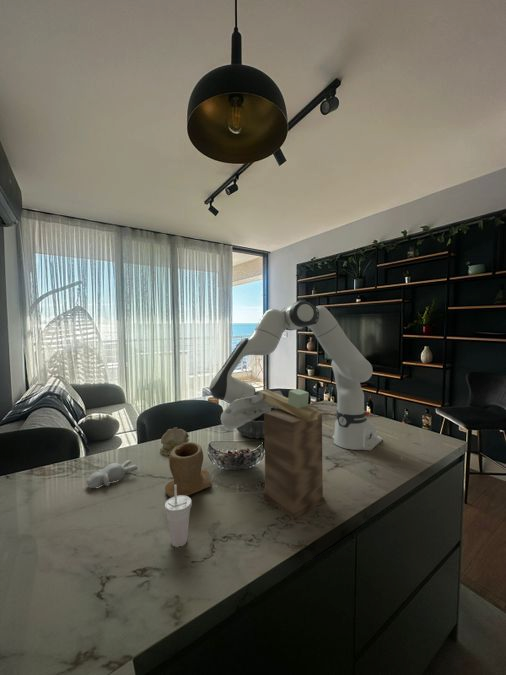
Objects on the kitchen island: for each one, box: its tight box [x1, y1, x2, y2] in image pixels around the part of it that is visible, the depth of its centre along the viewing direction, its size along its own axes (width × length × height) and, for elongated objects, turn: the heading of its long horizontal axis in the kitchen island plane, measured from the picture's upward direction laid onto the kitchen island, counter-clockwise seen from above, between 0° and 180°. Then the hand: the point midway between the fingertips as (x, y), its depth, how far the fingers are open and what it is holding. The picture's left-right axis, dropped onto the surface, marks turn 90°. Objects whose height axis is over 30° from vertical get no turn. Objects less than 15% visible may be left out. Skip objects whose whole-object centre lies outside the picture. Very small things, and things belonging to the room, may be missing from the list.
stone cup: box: [164, 441, 213, 498], centre depth 94 cm, size 15×12×15 cm
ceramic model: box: [159, 426, 190, 456], centre depth 125 cm, size 14×11×10 cm
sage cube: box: [287, 388, 310, 408], centre depth 85 cm, size 4×4×4 cm
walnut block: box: [262, 409, 326, 520], centre depth 88 cm, size 13×13×26 cm
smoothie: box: [164, 485, 193, 548], centre depth 71 cm, size 6×6×14 cm
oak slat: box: [258, 389, 319, 422], centre depth 89 cm, size 4×22×2 cm, turn 37°
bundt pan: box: [236, 406, 280, 440], centre depth 144 cm, size 26×26×10 cm
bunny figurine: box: [85, 459, 139, 489], centre depth 101 cm, size 10×5×15 cm
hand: (269, 394), depth 95 cm, fingers closed on oak slat, 3 cm apart
